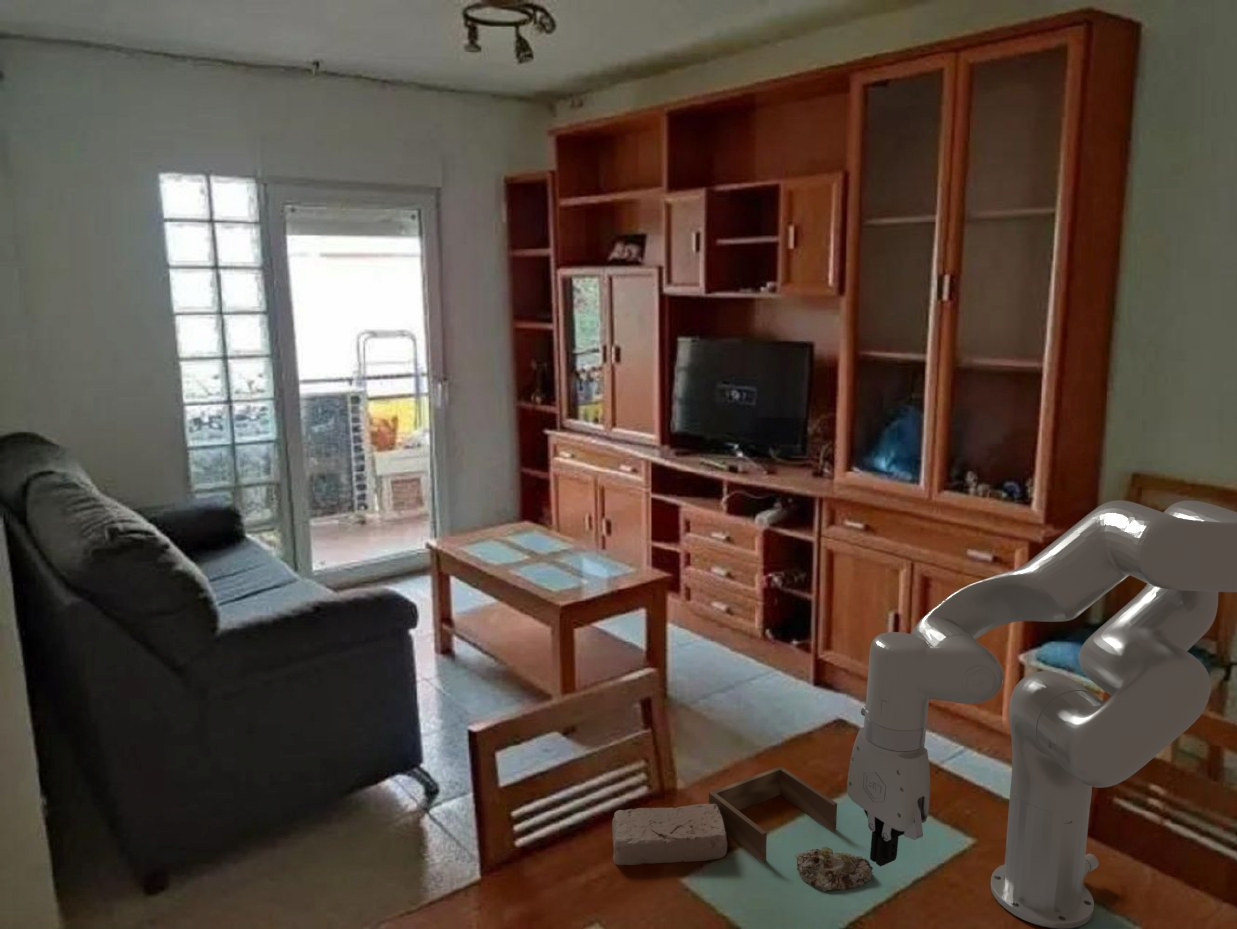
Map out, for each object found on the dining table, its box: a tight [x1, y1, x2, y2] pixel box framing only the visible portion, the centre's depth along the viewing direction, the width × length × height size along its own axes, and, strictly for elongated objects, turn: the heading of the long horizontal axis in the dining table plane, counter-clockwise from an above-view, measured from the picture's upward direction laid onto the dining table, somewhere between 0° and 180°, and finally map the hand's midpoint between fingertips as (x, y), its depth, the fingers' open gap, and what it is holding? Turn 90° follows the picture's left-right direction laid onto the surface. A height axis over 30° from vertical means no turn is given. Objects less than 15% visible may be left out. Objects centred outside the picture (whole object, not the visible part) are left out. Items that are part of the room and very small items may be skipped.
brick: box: [611, 803, 728, 866], centre depth 134 cm, size 17×8×5 cm, turn 94°
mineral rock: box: [795, 846, 873, 892], centre depth 127 cm, size 11×4×8 cm
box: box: [708, 765, 838, 863], centre depth 139 cm, size 15×13×4 cm
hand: (883, 860), depth 118 cm, fingers closed
